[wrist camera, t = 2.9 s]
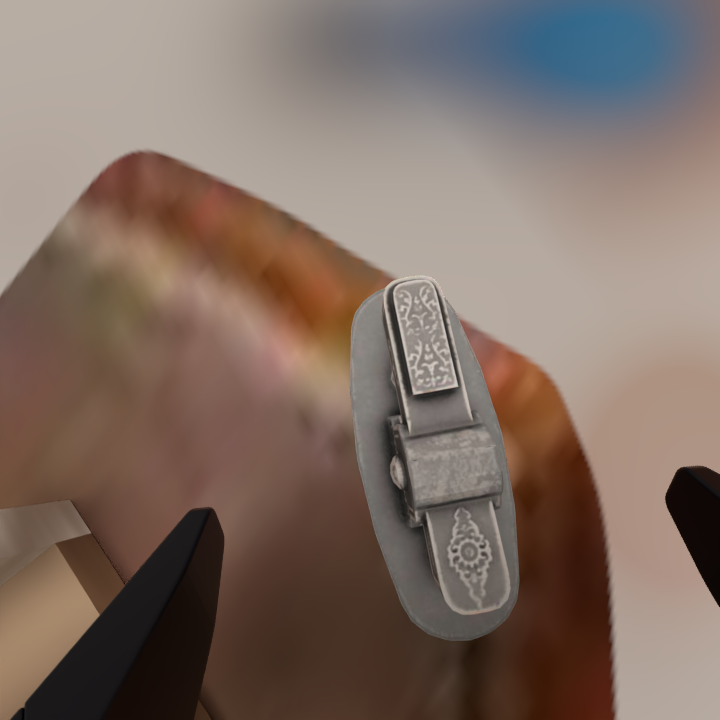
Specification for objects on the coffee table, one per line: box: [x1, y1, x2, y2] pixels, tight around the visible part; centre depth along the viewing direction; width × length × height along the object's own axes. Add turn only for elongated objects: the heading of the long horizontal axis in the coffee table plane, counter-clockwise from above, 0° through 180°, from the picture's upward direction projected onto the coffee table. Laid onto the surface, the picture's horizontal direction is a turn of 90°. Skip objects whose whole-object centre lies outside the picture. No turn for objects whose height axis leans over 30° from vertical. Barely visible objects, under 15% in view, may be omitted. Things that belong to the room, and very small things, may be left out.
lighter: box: [350, 275, 519, 641], centre depth 12 cm, size 8×3×10 cm, turn 10°
